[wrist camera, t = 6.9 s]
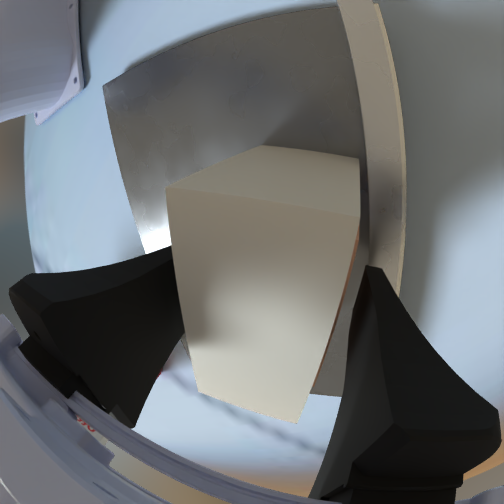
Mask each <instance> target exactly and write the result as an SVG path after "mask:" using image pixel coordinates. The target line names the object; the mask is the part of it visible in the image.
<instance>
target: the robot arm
mask: <svg viewBox="0 0 504 504" xmlns="http://www.w3.org/2000/svg"><path fill="white" fill-rule="evenodd" d="M83 88H84V79H83V71H82V62H81V52H80V39H79V18H78V0H1V1H0V122H3V121H6V120H9V119H12V118H16V117H19V116H23V115H26V114H30V113H34V116H35V122H36V125H41V124H42V123H43V122H44V121H45V120H47V119H48V118H49V117H50V116H51V115H52V114H54V113H55V112H56V111H57V110H58V109H60V108H61V107H62V106H63V105H65V104H66V103H67V102H68V101H70V100H71V99H72V98H74V97H75V96H76V95H78V94H79V93H80V92H81V91H82V90H83ZM9 296H10V299H11V302H12V304H13V306H14V308H15V310H16V312H17V314H18V316H19V318H20V319H21V321H22V323H23V325H24V327H25V328H26V330H27V332H28V333H29V335H30V336H29V337H28V338H27V339H26V340H25V341H24V342H23V341H22V340H21V337H20V336H19V334H18V332H17V331H16V329H15V328H14V326H13V325H12V323H11V322H10V321H9V320H8V319H7V318H6V317H5V315H4V314H1V315H0V504H172V503H170V502H168V501H166V500H164V499H162V498H160V497H159V496H157V495H155V494H153V493H151V492H149V491H148V490H146V489H144V488H142V487H140V486H139V485H137V484H136V483H134V482H133V481H131V480H129V479H128V478H126V477H125V476H123V475H122V474H120V473H119V472H117V471H116V470H114V469H113V468H111V467H110V466H109V463H110V462H111V460H112V459H113V458H114V453H113V452H111V451H110V450H109V449H107V448H106V447H105V446H104V445H103V444H101V443H100V442H99V441H98V440H97V439H96V438H94V437H93V436H92V435H91V434H90V433H89V432H88V431H87V430H86V429H85V428H84V427H83V426H82V425H80V424H79V423H78V422H77V416H78V417H79V418H80V419H81V420H83V421H84V422H85V423H86V424H88V425H89V426H90V427H91V428H93V429H94V430H95V431H97V432H98V433H99V434H101V435H102V436H103V437H105V438H106V439H108V440H109V441H111V442H112V443H113V444H115V445H116V446H118V447H119V448H121V449H122V450H124V451H126V452H127V453H129V454H130V455H132V456H133V457H135V458H137V459H138V460H140V461H142V462H143V463H145V464H147V465H148V466H150V467H152V468H154V469H156V470H158V471H159V472H161V473H163V474H165V475H167V476H169V477H171V478H173V479H175V480H177V481H179V482H181V483H183V484H185V485H187V486H190V487H192V488H194V489H196V490H199V491H201V492H203V493H206V494H208V495H211V496H213V497H216V498H218V499H221V500H224V501H226V502H229V503H232V504H504V485H503V486H499V487H496V488H493V489H489V490H487V491H484V492H482V493H479V494H477V495H475V496H473V497H472V498H471V499H465V500H459V501H455V496H456V488H459V487H461V485H462V484H463V474H464V473H466V472H467V471H469V470H471V469H473V468H474V467H476V466H477V465H479V464H481V463H482V462H484V461H485V460H487V459H488V458H489V457H491V456H492V455H493V454H494V453H495V452H496V451H497V450H498V448H499V447H500V444H501V442H502V440H501V429H500V420H499V413H498V410H497V409H496V408H495V407H494V406H492V405H491V404H490V403H489V402H488V401H486V400H485V399H484V398H483V397H481V396H480V395H479V394H478V393H476V392H475V391H474V390H473V389H472V388H471V387H470V386H469V385H468V384H467V383H466V382H465V381H464V380H462V379H461V378H460V377H459V376H458V375H457V374H456V373H455V372H454V371H453V370H452V369H451V367H450V366H449V365H448V364H447V363H446V362H445V361H444V360H443V359H442V357H441V356H440V355H439V354H438V353H437V352H436V351H435V349H434V348H433V347H432V346H431V344H430V343H429V342H428V341H427V339H426V338H425V337H424V335H423V334H422V333H421V331H420V330H419V329H418V327H417V326H416V324H415V323H414V321H413V320H412V318H411V317H410V315H409V314H408V312H407V311H406V309H405V308H404V306H403V304H402V303H401V301H400V299H399V298H398V296H397V294H396V292H395V291H394V289H393V287H392V285H391V283H390V282H389V280H388V278H387V276H386V275H385V273H384V271H383V269H382V268H378V267H373V266H369V265H365V269H364V273H363V276H362V280H361V283H360V287H359V290H358V294H357V297H356V300H355V304H354V307H353V311H352V317H351V322H350V328H349V335H348V349H347V361H346V371H345V381H344V388H343V394H342V398H341V403H340V407H339V411H338V414H337V418H336V422H335V425H334V429H333V432H332V435H331V439H330V442H329V445H328V448H327V451H326V454H325V457H324V459H323V462H322V465H321V468H320V470H319V473H318V475H317V478H316V480H315V483H314V485H313V487H312V490H311V492H310V494H309V497H308V498H306V497H301V496H296V495H291V494H287V493H283V492H279V491H275V490H271V489H267V488H264V487H260V486H257V485H254V484H250V483H247V482H244V481H241V480H238V479H235V478H232V477H229V476H227V475H224V474H221V473H219V472H216V471H214V470H211V469H209V468H206V467H204V466H201V465H199V464H197V463H195V462H192V461H190V460H188V459H186V458H184V457H181V456H179V455H177V454H175V453H173V452H171V451H169V450H167V449H165V448H163V447H162V446H160V445H158V444H156V443H154V442H152V441H150V440H149V439H147V438H145V437H143V436H142V435H140V434H138V433H137V432H135V431H133V430H132V429H131V428H134V427H135V426H136V423H137V420H138V418H139V415H140V413H141V411H142V408H143V406H144V404H145V401H146V399H147V397H148V395H149V393H150V391H151V389H152V387H153V385H154V383H155V381H156V379H157V377H158V375H159V373H160V371H161V369H162V368H163V366H164V364H165V362H166V361H167V359H168V357H169V355H170V354H171V352H172V350H173V349H174V347H175V345H176V344H177V343H178V341H179V340H180V338H181V337H182V336H183V334H184V333H185V328H184V323H183V317H182V312H181V306H180V300H179V294H178V288H177V282H176V275H175V269H174V262H173V254H172V247H171V245H170V246H167V247H164V248H162V249H159V250H156V251H153V252H150V253H148V254H145V255H142V256H139V257H136V258H133V259H130V260H126V261H123V262H119V263H115V264H111V265H107V266H102V267H96V268H91V269H86V270H79V271H71V272H61V273H31V274H29V275H26V276H25V277H24V278H23V279H21V280H20V281H18V282H17V283H16V284H15V285H13V286H12V287H11V288H9Z"/></svg>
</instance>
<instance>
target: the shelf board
mask: <svg viewBox="0 0 504 504" xmlns="http://www.w3.org/2000/svg"><path fill="white" fill-rule="evenodd" d="M337 4H338V7H328V8H319V9H311V10H304V11H297V12H291V13H286V14H281V15H276V16H271V17H267V18H262V19H258V20H254V21H250V22H247V23H243V24H239V25H236V26H233V27H229V28H226V29H223V30H220V31H217V32H214V33H211V34H208V35H205V36H203V37H200V38H197V39H195V40H192V41H190V42H187V43H185V44H182V45H180V46H178V47H175V48H173V49H171V50H168V51H166V52H164V53H162V54H160V55H158V56H156V57H153V58H151V59H149V60H147V61H145V62H143V63H142V64H140V65H138V66H136V67H134V68H132V69H130V70H128V71H127V72H125V73H123V74H121V75H120V76H118V77H116V78H115V79H113V80H111V81H110V82H108V83H106V84H105V85H103V92H104V98H105V104H106V109H107V114H108V120H109V124H110V129H111V134H112V138H113V143H114V147H115V151H116V155H117V159H118V163H119V167H120V171H121V175H122V179H123V182H124V186H125V190H126V193H127V196H128V200H129V203H130V207H131V210H132V213H133V216H134V219H135V223H136V226H137V229H138V232H139V235H140V238H141V241H142V244H143V247H144V249H145V252H146V254H148V253H150V252H153V251H156V250H159V249H162V248H164V247H167V246H170V245H171V239H170V231H169V222H168V212H167V202H166V191H165V187H166V186H168V185H170V184H172V183H174V182H176V181H178V180H180V179H183V178H185V177H187V176H189V175H191V174H193V173H196V172H198V171H200V170H202V169H204V168H207V167H209V166H211V165H213V164H216V163H218V162H220V161H223V160H225V159H228V158H230V157H232V156H235V155H237V154H240V153H242V152H245V151H247V150H250V149H252V148H255V147H257V146H260V145H266V146H276V147H285V148H294V149H302V150H309V151H316V152H323V153H329V154H335V155H341V156H347V157H352V158H357V159H359V170H360V221H359V242H358V246H357V250H356V255H355V259H354V263H353V267H352V271H351V274H350V278H349V282H348V286H347V289H346V293H345V296H344V300H343V303H342V307H341V310H340V313H339V317H338V320H337V323H336V326H335V329H334V332H333V335H332V338H331V341H330V344H329V347H328V350H327V353H326V356H325V359H324V362H323V364H322V367H321V370H320V373H319V375H318V378H317V381H316V383H315V386H314V387H312V388H311V390H310V393H309V394H318V395H327V396H338V397H342V394H343V388H344V381H345V371H346V361H347V349H348V335H349V328H350V322H351V317H352V311H353V307H354V304H355V300H356V297H357V294H358V290H359V287H360V283H361V280H362V276H363V273H364V269H365V265H369V266H373V267H378V268H382V269H383V271H384V273H385V275H386V276H387V278H388V280H389V282H390V283H391V285H392V287H393V289H394V291H395V292H396V294H397V296H398V298H399V293H400V285H401V277H402V269H403V258H404V247H405V231H406V202H407V184H406V154H405V139H404V128H403V118H402V110H401V102H400V95H399V89H398V83H397V77H396V72H395V66H394V62H393V57H392V52H391V48H390V44H389V40H388V36H387V32H386V28H385V25H384V21H383V18H382V14H381V11H380V8H379V5H378V4H373V1H372V0H337ZM180 339H181V341H182V343H183V345H184V347H185V350H186V352H187V354H188V356H189V358H190V360H191V357H190V352H189V348H188V343H187V338H186V333H184V334H183V336H182V337H181V338H180Z"/></svg>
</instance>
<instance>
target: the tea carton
mask: <svg viewBox="0 0 504 504" xmlns="http://www.w3.org/2000/svg"><path fill="white" fill-rule="evenodd" d="M165 191H166V202H167V212H168V222H169V231H170V239H171V247H172V254H173V262H174V269H175V275H176V282H177V288H178V294H179V300H180V306H181V312H182V317H183V323H184V328H185V333H186V338H187V343H188V348H189V352H190V357H191V362H192V366H193V371H194V375H195V379H196V383H197V387H198V391H199V392H201V393H203V394H206V395H208V396H211V397H214V398H216V399H219V400H222V401H224V402H227V403H230V404H233V405H235V406H238V407H241V408H244V409H247V410H250V411H253V412H256V413H260V414H263V415H266V416H270V417H273V418H277V419H280V420H284V421H288V422H291V423H295V424H297V423H298V420H299V418H300V415H301V413H302V411H303V408H304V406H305V403H306V401H307V398H308V396H309V393H310V390H311V388H312V387H314V386H315V383H316V381H317V378H318V375H319V373H320V370H321V367H322V364H323V362H324V359H325V356H326V353H327V350H328V347H329V344H330V341H331V338H332V335H333V332H334V329H335V326H336V323H337V320H338V317H339V313H340V310H341V307H342V303H343V300H344V296H345V293H346V289H347V286H348V282H349V278H350V274H351V271H352V267H353V263H354V259H355V255H356V250H357V246H358V242H359V221H360V170H359V159H357V158H352V157H347V156H341V155H335V154H329V153H323V152H316V151H309V150H302V149H294V148H285V147H276V146H266V145H260V146H257V147H255V148H252V149H250V150H247V151H245V152H242V153H240V154H237V155H235V156H232V157H230V158H228V159H225V160H223V161H220V162H218V163H216V164H213V165H211V166H209V167H207V168H204V169H202V170H200V171H198V172H196V173H193V174H191V175H189V176H187V177H185V178H183V179H180V180H178V181H176V182H174V183H172V184H170V185H168V186H166V187H165Z"/></svg>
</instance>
